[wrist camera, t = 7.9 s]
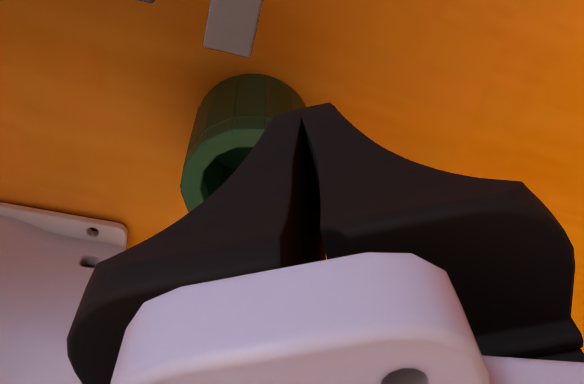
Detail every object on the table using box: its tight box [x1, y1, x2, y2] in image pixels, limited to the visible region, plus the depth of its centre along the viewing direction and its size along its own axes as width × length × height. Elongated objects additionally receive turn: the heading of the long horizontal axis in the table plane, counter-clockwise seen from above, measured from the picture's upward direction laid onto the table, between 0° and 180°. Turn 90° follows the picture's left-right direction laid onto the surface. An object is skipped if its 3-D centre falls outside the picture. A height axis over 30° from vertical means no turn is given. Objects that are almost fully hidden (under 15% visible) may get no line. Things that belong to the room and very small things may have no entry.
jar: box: [180, 74, 305, 212], centre depth 21 cm, size 5×5×5 cm
